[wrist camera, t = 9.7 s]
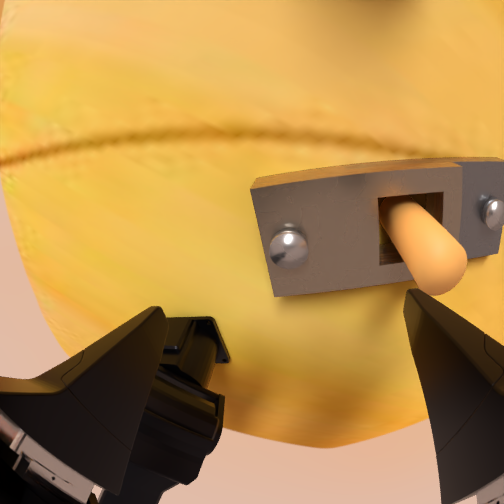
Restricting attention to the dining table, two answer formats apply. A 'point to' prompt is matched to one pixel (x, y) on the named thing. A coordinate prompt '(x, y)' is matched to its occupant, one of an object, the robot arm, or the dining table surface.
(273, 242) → the gray switch cover plate
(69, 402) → the robot arm
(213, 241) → the dining table surface
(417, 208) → the connecting pin
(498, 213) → the grey peg hole base
